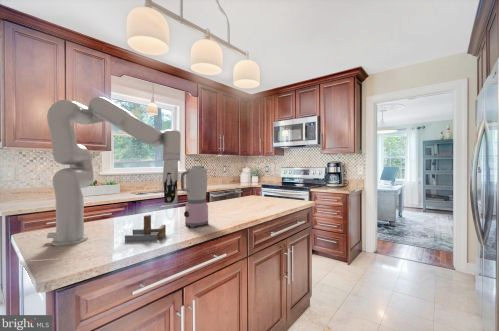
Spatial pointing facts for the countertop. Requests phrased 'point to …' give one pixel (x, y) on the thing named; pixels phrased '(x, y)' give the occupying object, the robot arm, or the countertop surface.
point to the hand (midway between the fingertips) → (171, 198)
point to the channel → (141, 236)
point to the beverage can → (174, 194)
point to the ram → (147, 228)
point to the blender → (195, 196)
